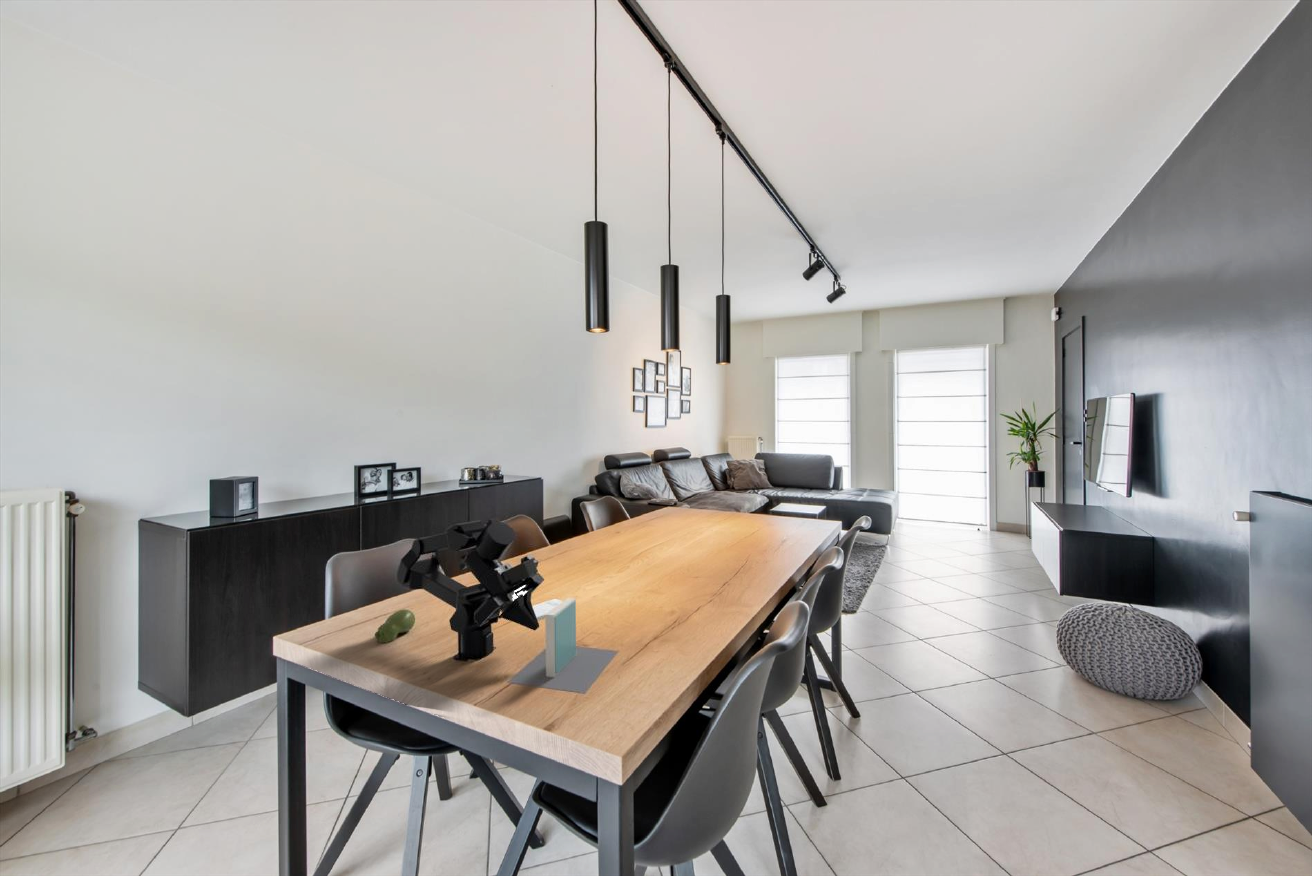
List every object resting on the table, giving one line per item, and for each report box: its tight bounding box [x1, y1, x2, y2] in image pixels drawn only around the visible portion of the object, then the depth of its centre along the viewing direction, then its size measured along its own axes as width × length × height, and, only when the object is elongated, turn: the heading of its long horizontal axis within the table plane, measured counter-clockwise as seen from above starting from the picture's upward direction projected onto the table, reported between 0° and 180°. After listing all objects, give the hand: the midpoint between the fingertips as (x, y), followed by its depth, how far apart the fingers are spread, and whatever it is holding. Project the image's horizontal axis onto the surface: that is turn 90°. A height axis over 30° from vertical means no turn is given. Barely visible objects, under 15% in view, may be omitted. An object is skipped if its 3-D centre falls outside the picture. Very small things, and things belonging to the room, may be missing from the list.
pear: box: [374, 608, 416, 644], centre depth 118 cm, size 6×5×10 cm
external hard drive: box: [532, 598, 564, 621], centre depth 134 cm, size 2×8×12 cm
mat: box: [506, 645, 619, 694], centre depth 100 cm, size 16×18×1 cm
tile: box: [544, 597, 577, 677], centre depth 101 cm, size 2×10×12 cm, turn 165°
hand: (537, 628), depth 102 cm, fingers closed
